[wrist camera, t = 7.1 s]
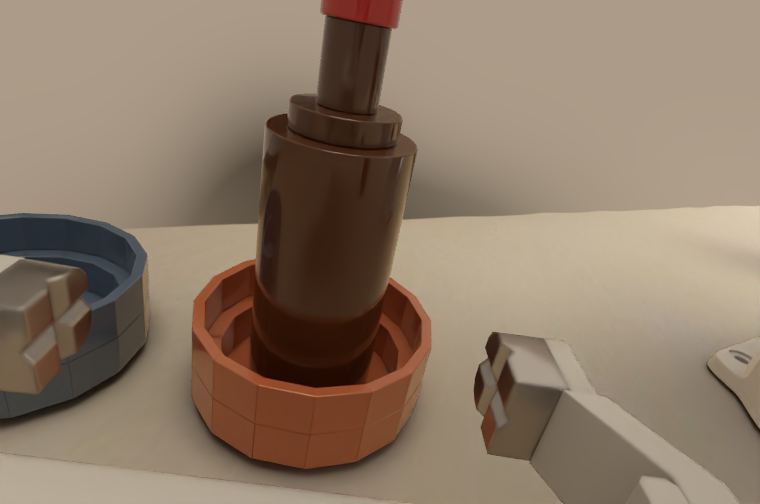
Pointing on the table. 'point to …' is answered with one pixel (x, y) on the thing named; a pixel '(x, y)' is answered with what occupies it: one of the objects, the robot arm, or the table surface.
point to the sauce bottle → (331, 209)
